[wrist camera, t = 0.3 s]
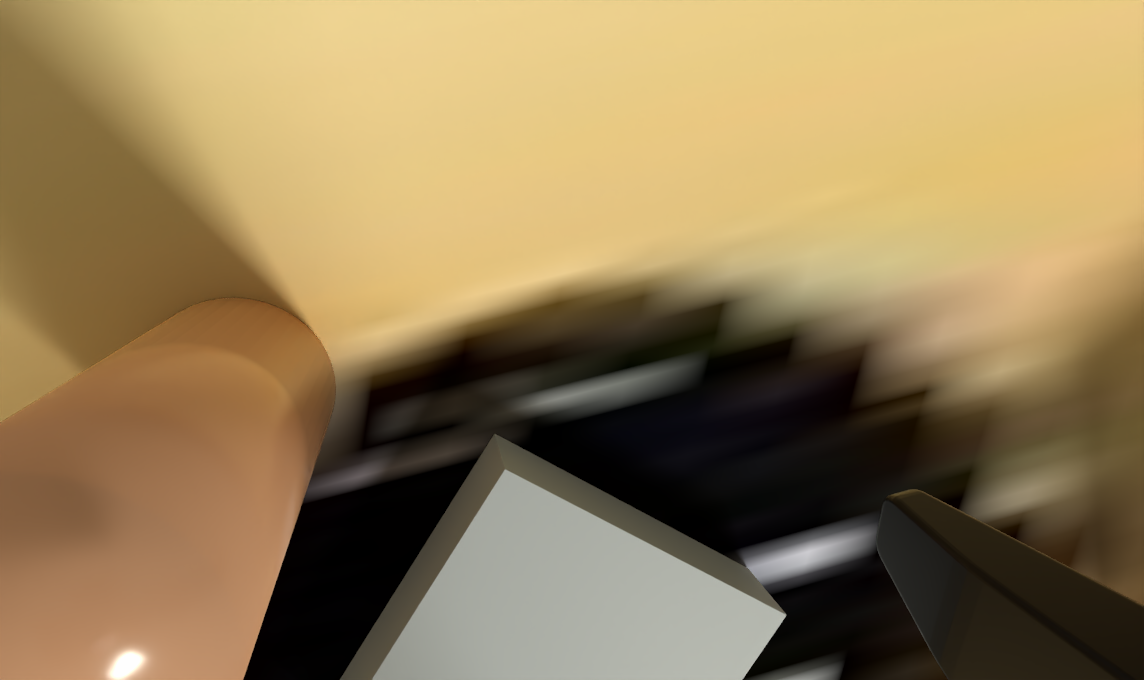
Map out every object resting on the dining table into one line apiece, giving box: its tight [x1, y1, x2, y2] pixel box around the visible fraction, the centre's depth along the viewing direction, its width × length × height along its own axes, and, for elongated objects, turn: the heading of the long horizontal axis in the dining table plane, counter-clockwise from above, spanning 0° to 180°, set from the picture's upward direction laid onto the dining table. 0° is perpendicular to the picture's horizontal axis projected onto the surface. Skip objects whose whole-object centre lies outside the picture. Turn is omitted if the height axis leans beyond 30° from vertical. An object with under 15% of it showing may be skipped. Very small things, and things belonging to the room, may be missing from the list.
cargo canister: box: [0, 298, 336, 680], centre depth 16 cm, size 6×6×13 cm
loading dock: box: [340, 434, 786, 680], centre depth 25 cm, size 11×11×3 cm
